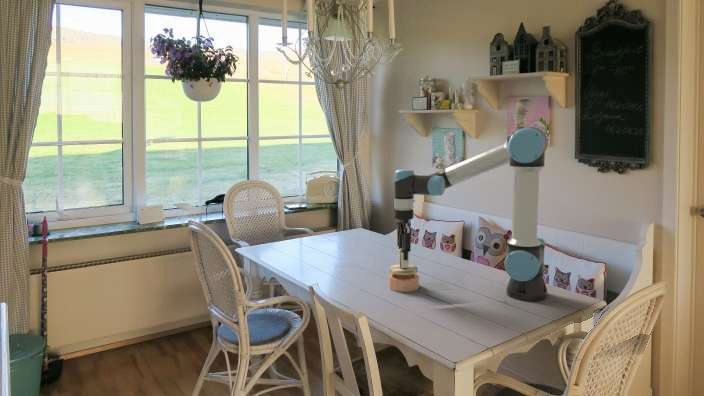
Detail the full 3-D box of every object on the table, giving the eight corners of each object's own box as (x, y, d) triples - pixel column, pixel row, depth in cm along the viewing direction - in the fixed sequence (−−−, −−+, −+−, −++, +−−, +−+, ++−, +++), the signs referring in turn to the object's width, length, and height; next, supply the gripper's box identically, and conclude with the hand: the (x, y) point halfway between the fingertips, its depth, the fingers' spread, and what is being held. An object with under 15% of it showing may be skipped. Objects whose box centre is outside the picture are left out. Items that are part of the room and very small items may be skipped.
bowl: (422, 292, 208) (422, 279, 207) (392, 294, 206) (393, 281, 205) (413, 283, 220) (413, 270, 219) (385, 285, 218) (385, 272, 217)
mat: (452, 291, 209) (452, 289, 209) (428, 293, 208) (428, 290, 208) (443, 283, 219) (443, 281, 219) (420, 285, 217) (420, 283, 217)
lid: (421, 274, 207) (421, 251, 206) (393, 275, 206) (393, 252, 204) (412, 266, 218) (413, 244, 217) (387, 268, 216) (387, 246, 215)
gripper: (419, 211, 201) (418, 271, 204) (407, 205, 217) (407, 260, 220) (400, 212, 200) (400, 272, 203) (389, 205, 215) (389, 261, 219)
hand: (403, 266), depth 212 cm, fingers closed on lid, 3 cm apart
